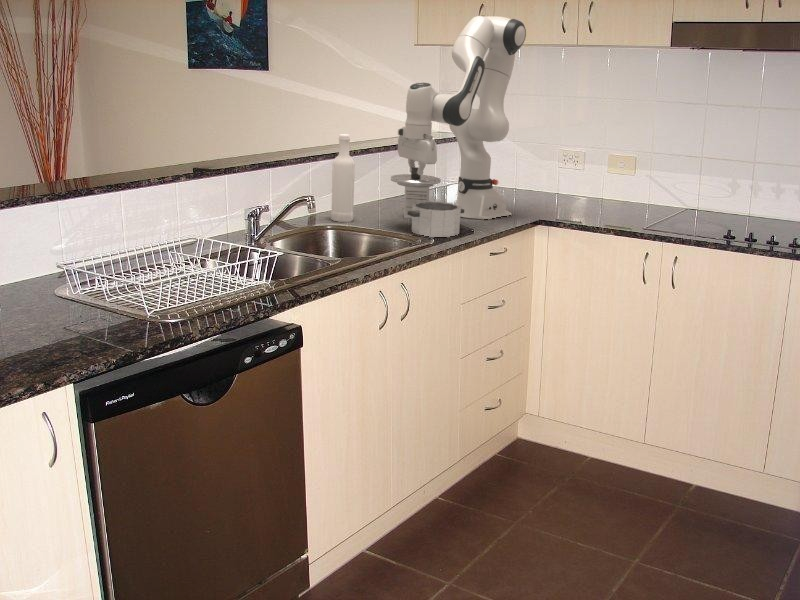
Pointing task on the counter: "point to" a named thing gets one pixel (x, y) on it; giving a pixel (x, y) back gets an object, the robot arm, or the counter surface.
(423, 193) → the supplement box
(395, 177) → the lid
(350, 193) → the bottle
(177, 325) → the counter surface
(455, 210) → the pot
